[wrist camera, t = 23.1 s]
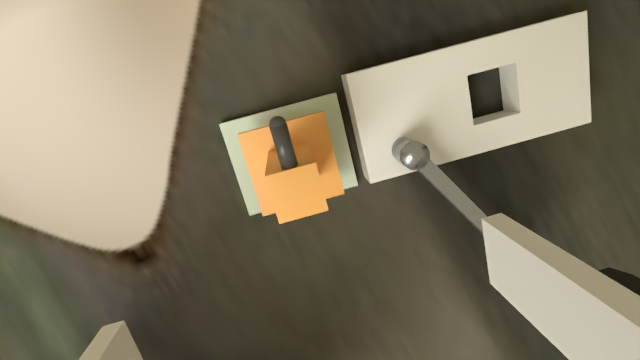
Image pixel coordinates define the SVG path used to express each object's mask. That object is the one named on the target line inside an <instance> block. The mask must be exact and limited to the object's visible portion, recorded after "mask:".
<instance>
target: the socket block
mask: <svg viewBox="0 0 640 360" xmlns="http://www.w3.org/2000/svg"><path fill="white" fill-rule="evenodd" d="M497 67H499V75H500V84H501V93H502V102H503V111H499V112H496V113H492V114H488V115H485V116H481V117H477V118H474V119H473V116H472V108H471V101H470V93H469V86H468V78H467V76H468V75H471V74H475V73H479V72H482V71H486V70H490V69H494V68H497ZM341 78H342V83H343V87H344V91H345V96H346V100H347V105H348V109H349V113H350V118H351V122H352V126H353V131H354V135H355V140H356V144H357V148H358V153H359V157H360V161H361V166H362V170H363V175H364V177H365V178H366V179H367V180H368V182H369V183H370V184H371V183H375V182H379V181H382V180H386V179H389V178H393V177H397V176H400V175H404V174H407V173H411V172H415V171H417V170H410V169H408V168H407V167H405V166H404V165H402V164H401V163H400V162H399V161H398V160H397V158H396V148H397V146H398V145H399V143H400V142H402V141H403V140H405V139H414V140H416V141H419V142H421V143H423V144H425V145H426V146H427V147H428V149H429V151H430V160H431V161H432V162H433V163H434V164H435V165H440V164H443V163H447V162H450V161H454V160H458V159H461V158H465V157H468V156H472V155H476V154H479V153H483V152H486V151H490V150H494V149H497V148H501V147H504V146H508V145H511V144H515V143H519V142H522V141H526V140H529V139H533V138H537V137H540V136H544V135H547V134H551V133H555V132H558V131H562V130H565V129H569V128H573V127H576V126H580V125H583V124H587V123H590V122H591V99H590V73H589V48H588V22H587V11H583V12H578V13H574V14H569V15H565V16H561V17H557V18H553V19H549V20H546V21H542V22H538V23H535V24H531V25H527V26H523V27H520V28H516V29H512V30H508V31H505V32H501V33H497V34H493V35H490V36H486V37H482V38H478V39H475V40H471V41H467V42H463V43H460V44H456V45H452V46H448V47H445V48H441V49H437V50H433V51H430V52H426V53H422V54H418V55H415V56H411V57H407V58H403V59H400V60H396V61H392V62H388V63H385V64H381V65H377V66H373V67H370V68H366V69H362V70H358V71H355V72H351V73H347V74H343V75H341Z"/></svg>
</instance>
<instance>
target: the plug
mask: <svg viewBox="0 0 640 360" xmlns="http://www.w3.org/2000/svg"><path fill="white" fill-rule="evenodd" d="M237 137H238V140H239V143H240V146H241V149H242V153H243V156H244V159H245V162H246V165H247V168H248V171H249V174H250V177H251V180H252V184H253V187H254V190H255V193H256V196H257V199H258V202H259V205H260V208H261V211H262V215H263V216H267V215H270V214H274V213H276V215H277V218H278V221H279V224H282V223H285V222H289V221H292V220H296V219H300V218H303V217H307V216H310V215H314V214H318V213H321V212H325V211H328V206H327V202H326V199H328V198H331V197H335V196H338V195H342V194H345V193H344V189H343V185H342V181H341V177H340V173H339V169H338V165H337V161H336V157H335V153H334V149H333V145H332V141H331V137H330V133H329V129H328V125H327V121H326V117H325V113H324V111H319V112H315V113H311V114H308V115H304V116H300V117H297V118H293V119H289V120H285V119H284V118H283V117H281V116H275V117H273V118H272V119H271V120H270V122H269V125H267V126H263V127H260V128H256V129H252V130H248V131H245V132H241V133H238V134H237Z"/></svg>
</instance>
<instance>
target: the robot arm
mask: <svg viewBox="0 0 640 360" xmlns="http://www.w3.org/2000/svg"><path fill="white" fill-rule="evenodd" d="M481 221H482V228H483V235H484V243H485V250H486V257H487V264H488V272H489V279H490V284H491V285H492V286H493V287H494V288H495V289H496V290H497V291H499V292H500V293H501V294H502V295H503V296H504V297H505V298H506V299H507V300H508V301H509V302H510V303H511V304H512V305H513V306H514V307H515V308H516V309H517V310H518V311H519V312H520V313H521V314H522V315H523V316H524V317H525V318H526V319H527V320H529V321H530V322H531V323H532V324H533V325H534V326H535V327H536V328H537V329H538V330H539V331H540V332H541V333H542V334H543V335H544V336H545V337H546V338H547V339H548V340H549V341H550V342H551V343H552V344H553V345H554V346H555V347H556V348H557V349H559V350H560V351H561V352H562V353H563V354H564V355H565V356H566V357H567V358H568V359H569V360H640V278H638V277H636V276H634V275H632V274H629V273H625V272H622V271H619V270H616V269H612V268H606V269H602V270H599V271H597V270H596V269H594V268H592V267H591V266H589V265H587V264H586V263H584V262H582V261H581V260H579V259H577V258H576V257H574V256H572V255H571V254H569V253H567V252H566V251H564V250H562V249H561V248H559V247H557V246H556V245H554V244H552V243H551V242H549V241H547V240H546V239H544V238H542V237H541V236H539V235H537V234H536V233H534V232H532V231H531V230H529V229H527V228H526V227H524V226H522V225H521V224H519V223H517V222H516V221H514V220H512V219H511V218H509V217H507V216H506V215H504V214H502V213H499V214H495V215H492V216H488V217H485V218H481ZM79 360H143V358H142V356H141V354H140V352H139V350H138V348H137V346H136V344H135V342H134V340H133V338H132V336H131V334H130V332H129V330H128V327H127V325H126V323H125V321H120V322H116V323H113V324H109V325H106V326H102V328H101V329H100V331H99V332H98V333H97V335H96V336H95V338H94V339H93V340H92V342H91V343H90V345H89V346H88V347H87V349H86V350H85V352H84V353H83V354H82V356H81V357H80V359H79Z"/></svg>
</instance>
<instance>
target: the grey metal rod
mask: <svg viewBox="0 0 640 360" xmlns="http://www.w3.org/2000/svg"><path fill="white" fill-rule="evenodd" d="M396 158H397V160H398V161H399V162H400V163H401V164H402V165H404V166H405V167H407V168H408V169H410V170H417V171H418V172H419V173H420V174H421V175H422V176H423V177H424V178H425V179H426V180H427V181H428V182H429V183H430V184H431V185H432V186H433V187H434V188H435V189H436V190H437V191H438V192H439V193H440V194H441V195H442V196H443V197H444V198H446V199H447V200H448V201H449V202H450V203H451V204H452V205H453V206H454V207H455V208H456V209H457V210H458V211H459V212H460V213H461V214H462V215H463V216H464V217H465V218H466V219H467V220H468V221H469V222H470V223H471V224H472V225H473V226H474V227H475V228H476V229H477V230H478V231H479V232H480V233H481V234H482V235H483V228H482V221H481V218H485V217H487V216H486V215H485V214H484V213H483V212H482V211H481V210H480V209H479V208H478V207H477V206H476V205H475V204H474V203H473V202H472V201H471V200H470V199H469V198H468V197H467V196H466V195H465V194H464V193H463V192H462V191H461V190H460V189H459V188H458V187H457V186H456V185H455V184H454V183H453V182H452V181H451V180H450V179H449V178H448V177H447V176H446V175H445V174H444V173H443V172H442V171H441V170H440V169H439V168H438V167H437V166H436V165H435V164H434V163H433V162H432V161H431V160H430V151H429V149H428V147H427V146H426V145H425V144H423V143H421V142H419V141H416V140H414V139H405V140H403V141H402V142H400V143H399V145H398V146H397V148H396ZM483 236H484V235H483Z"/></svg>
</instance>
